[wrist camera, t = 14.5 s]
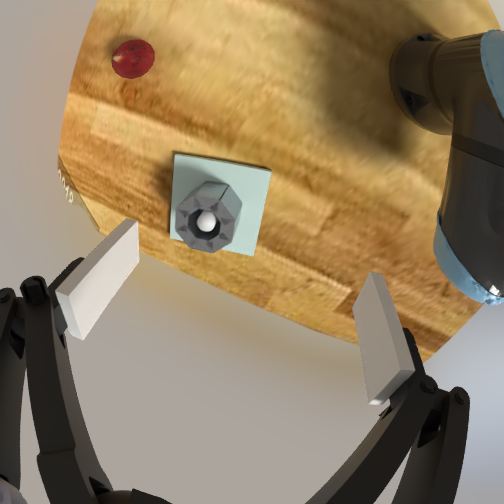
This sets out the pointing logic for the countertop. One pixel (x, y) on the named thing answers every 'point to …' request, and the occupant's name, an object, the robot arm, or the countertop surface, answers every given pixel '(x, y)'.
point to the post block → (237, 176)
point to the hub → (221, 204)
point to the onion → (133, 59)
